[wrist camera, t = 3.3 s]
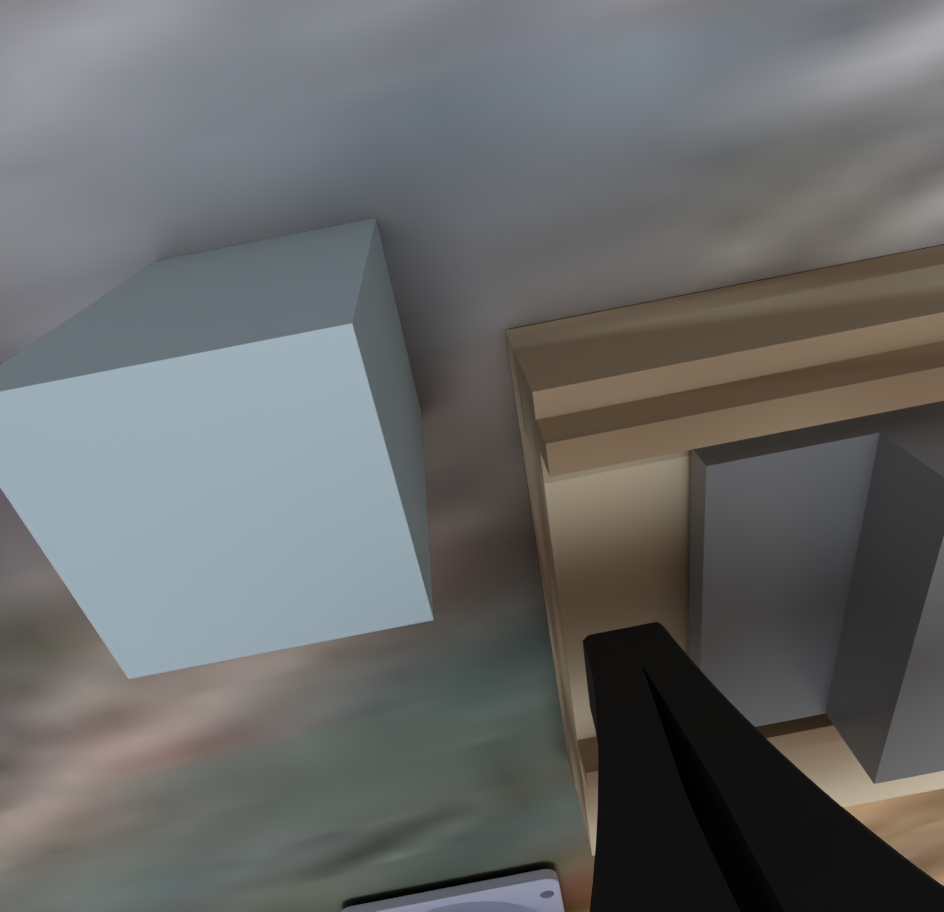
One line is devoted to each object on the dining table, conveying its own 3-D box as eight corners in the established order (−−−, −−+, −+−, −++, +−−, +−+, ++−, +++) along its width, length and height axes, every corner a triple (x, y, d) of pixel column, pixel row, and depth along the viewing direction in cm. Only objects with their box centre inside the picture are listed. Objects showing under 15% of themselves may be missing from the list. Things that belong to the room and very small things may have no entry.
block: (421, 414, 13) (433, 620, 8) (236, 450, 13) (128, 679, 8) (375, 217, 11) (352, 323, 6) (156, 260, 11) (-58, 402, 6)
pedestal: (944, 682, 19) (1054, 800, 16) (567, 755, 19) (600, 888, 16) (1100, 214, 12) (1352, 257, 9) (505, 330, 12) (541, 414, 9)
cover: (994, 655, 14) (1087, 743, 12) (687, 714, 14) (731, 811, 12) (1104, 367, 10) (1261, 428, 8) (691, 447, 10) (755, 525, 8)
